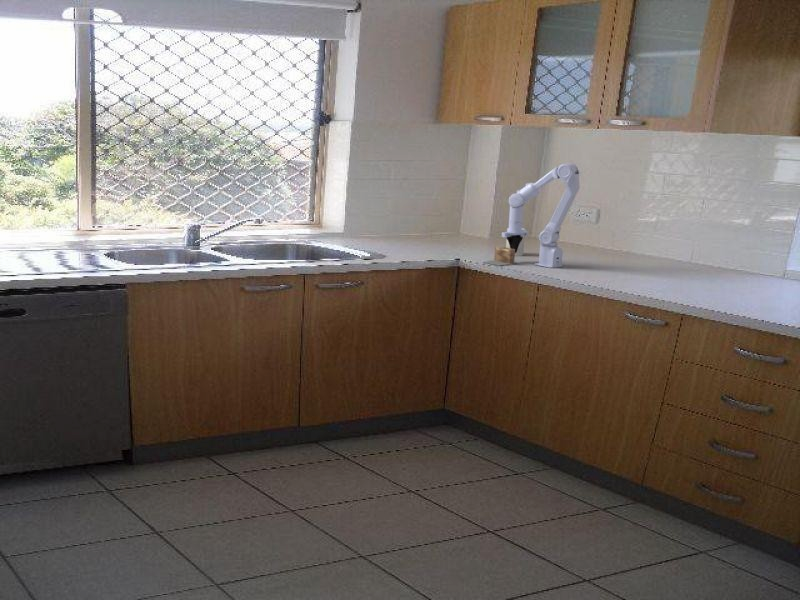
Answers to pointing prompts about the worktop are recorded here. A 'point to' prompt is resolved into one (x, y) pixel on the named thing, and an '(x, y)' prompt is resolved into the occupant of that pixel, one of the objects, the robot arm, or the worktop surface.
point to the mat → (497, 263)
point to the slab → (504, 255)
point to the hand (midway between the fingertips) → (513, 252)
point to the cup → (520, 247)
